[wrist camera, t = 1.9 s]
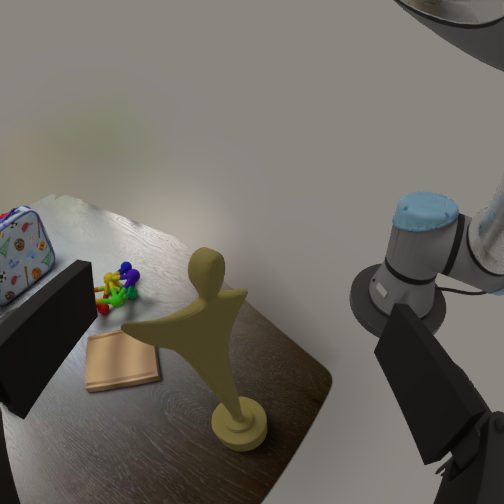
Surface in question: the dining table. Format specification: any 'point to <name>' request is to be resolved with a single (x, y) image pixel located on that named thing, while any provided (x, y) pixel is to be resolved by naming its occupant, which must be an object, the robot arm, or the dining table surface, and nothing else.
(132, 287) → the decorative model
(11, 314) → the robot arm
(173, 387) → the dining table surface
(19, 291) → the lunch box
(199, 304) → the sculpture
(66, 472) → the dining table surface
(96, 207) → the dining table surface
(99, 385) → the serving board
